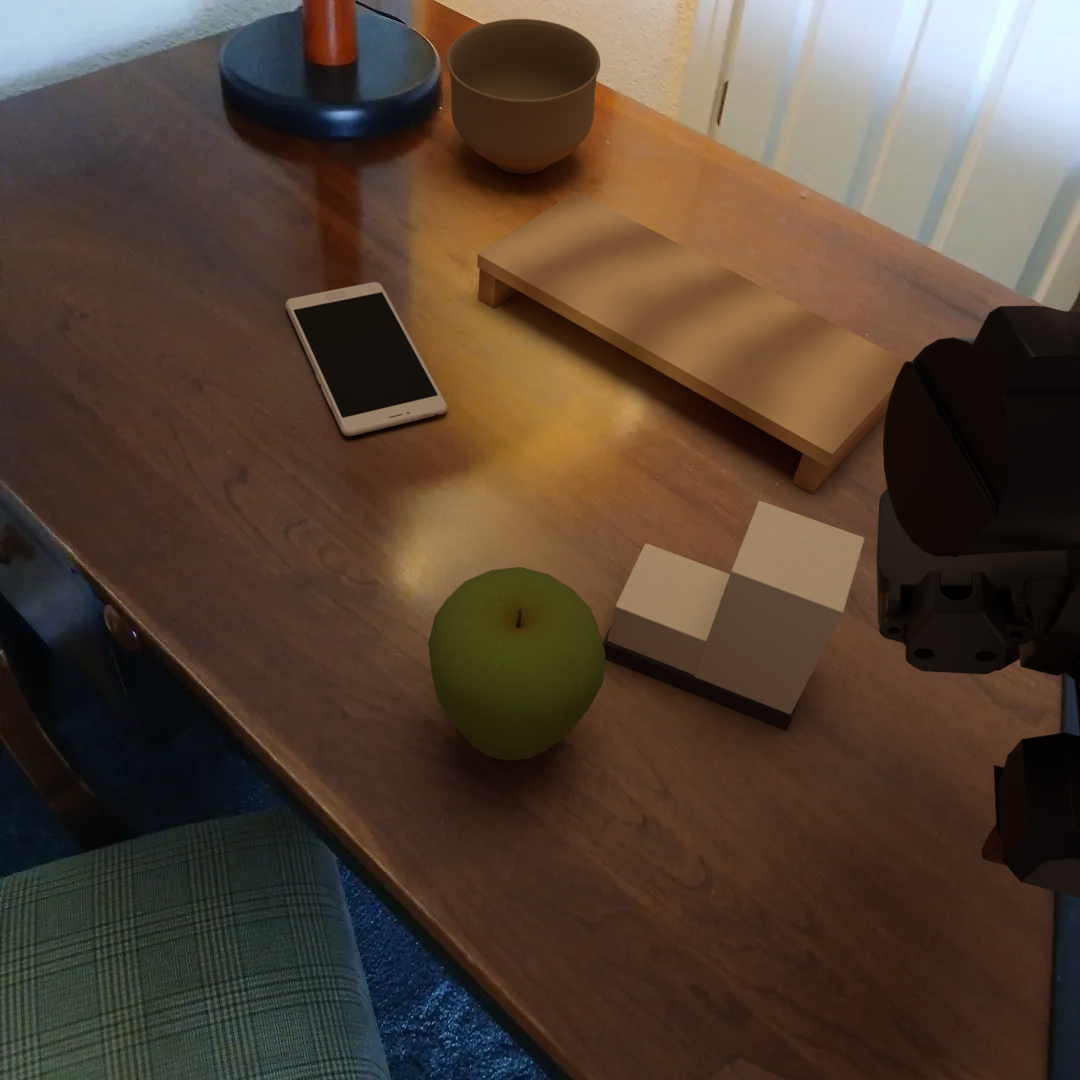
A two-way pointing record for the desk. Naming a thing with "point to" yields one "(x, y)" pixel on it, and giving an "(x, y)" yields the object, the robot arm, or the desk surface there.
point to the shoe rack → (699, 327)
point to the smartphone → (364, 359)
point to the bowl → (523, 91)
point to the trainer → (739, 614)
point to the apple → (515, 661)
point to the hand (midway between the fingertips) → (989, 755)
